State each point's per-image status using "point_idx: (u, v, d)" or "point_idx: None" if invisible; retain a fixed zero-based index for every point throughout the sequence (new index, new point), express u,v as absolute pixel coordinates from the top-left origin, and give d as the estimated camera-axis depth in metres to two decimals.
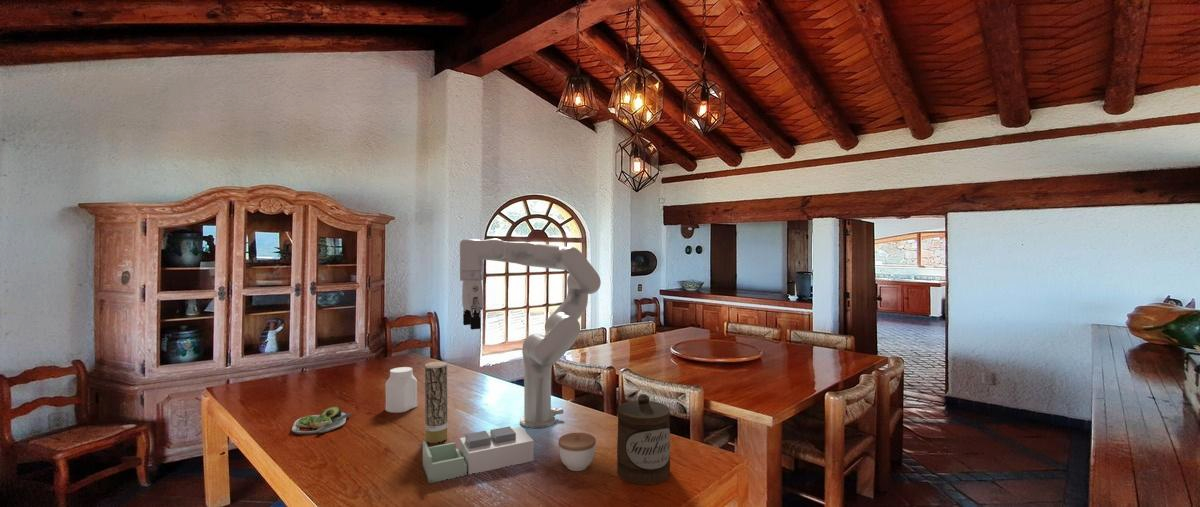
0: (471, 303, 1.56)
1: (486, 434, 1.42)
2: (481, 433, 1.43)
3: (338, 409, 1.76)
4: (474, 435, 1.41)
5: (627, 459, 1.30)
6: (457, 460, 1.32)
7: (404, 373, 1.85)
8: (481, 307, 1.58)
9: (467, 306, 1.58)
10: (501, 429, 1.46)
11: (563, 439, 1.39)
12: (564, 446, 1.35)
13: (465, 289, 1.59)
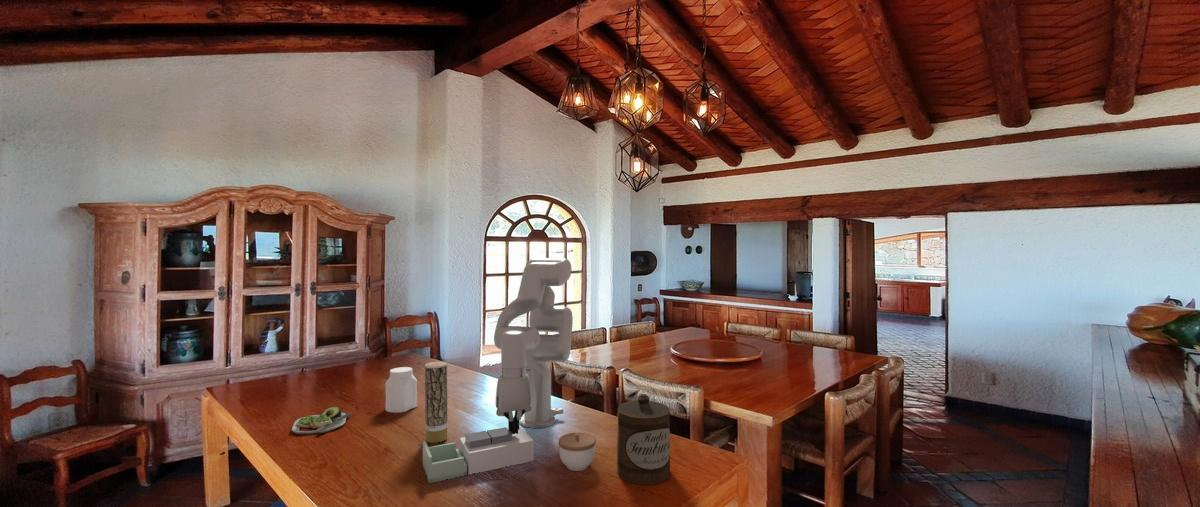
0: (531, 399, 1.47)
1: (486, 434, 1.42)
2: (481, 433, 1.43)
3: (338, 409, 1.76)
4: (474, 435, 1.41)
5: (627, 459, 1.30)
6: (457, 460, 1.32)
7: (404, 373, 1.85)
8: None
9: (525, 405, 1.45)
10: (497, 430, 1.45)
11: (563, 439, 1.39)
12: (564, 446, 1.35)
13: (521, 387, 1.44)
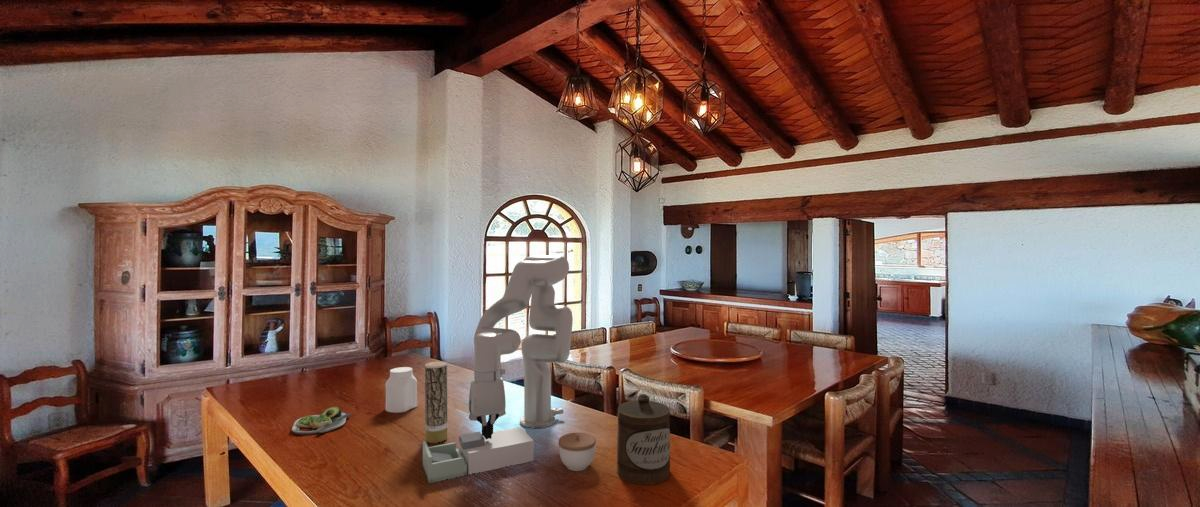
0: None
1: None
2: None
3: (338, 409, 1.76)
4: None
5: (627, 459, 1.30)
6: (457, 460, 1.32)
7: (404, 373, 1.85)
8: None
9: (499, 409, 1.41)
10: (470, 434, 1.42)
11: (563, 439, 1.39)
12: (564, 446, 1.35)
13: (495, 391, 1.40)
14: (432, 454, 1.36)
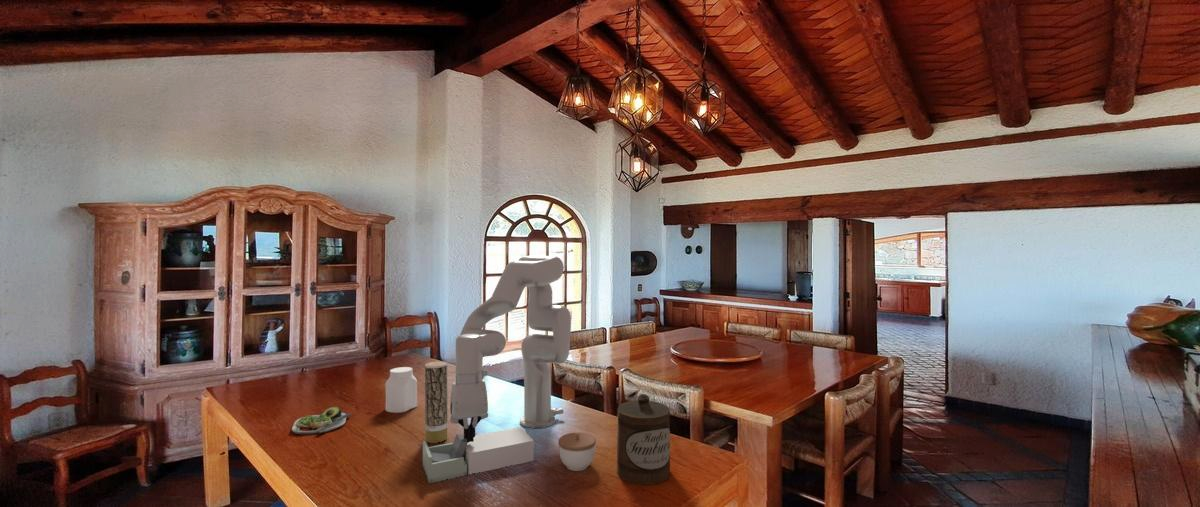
0: (487, 405, 1.41)
1: None
2: None
3: (338, 409, 1.76)
4: None
5: (627, 459, 1.30)
6: (457, 460, 1.32)
7: (404, 373, 1.85)
8: None
9: (481, 411, 1.39)
10: (453, 445, 1.39)
11: (563, 439, 1.39)
12: (564, 446, 1.35)
13: (477, 393, 1.38)
14: (432, 454, 1.36)
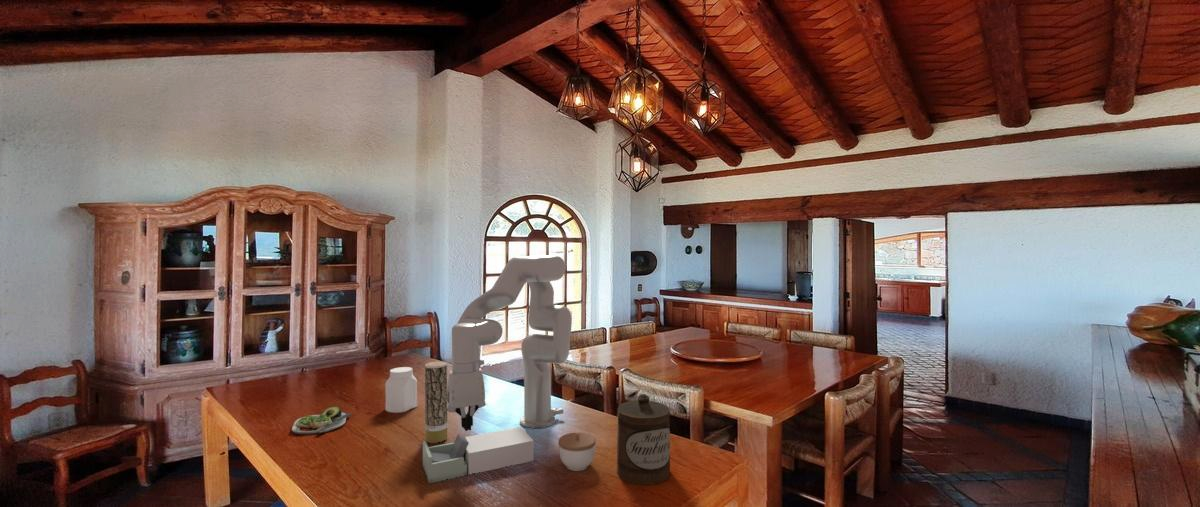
0: (484, 394, 1.40)
1: None
2: None
3: (338, 409, 1.76)
4: None
5: (627, 459, 1.30)
6: (457, 460, 1.32)
7: (404, 373, 1.85)
8: None
9: (478, 400, 1.39)
10: (454, 445, 1.39)
11: (563, 439, 1.39)
12: (564, 446, 1.35)
13: (473, 382, 1.38)
14: (432, 454, 1.36)
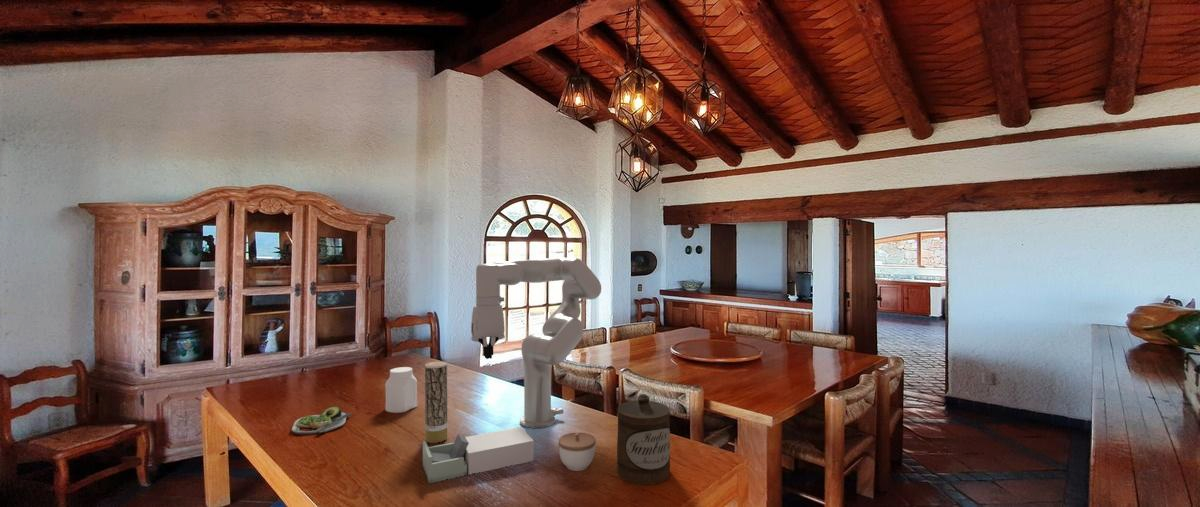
0: (504, 327, 1.58)
1: None
2: None
3: (338, 409, 1.76)
4: None
5: (627, 459, 1.30)
6: (457, 460, 1.32)
7: (404, 373, 1.85)
8: None
9: (498, 332, 1.56)
10: (454, 445, 1.39)
11: (563, 439, 1.39)
12: (564, 446, 1.35)
13: (495, 315, 1.55)
14: (432, 454, 1.36)
